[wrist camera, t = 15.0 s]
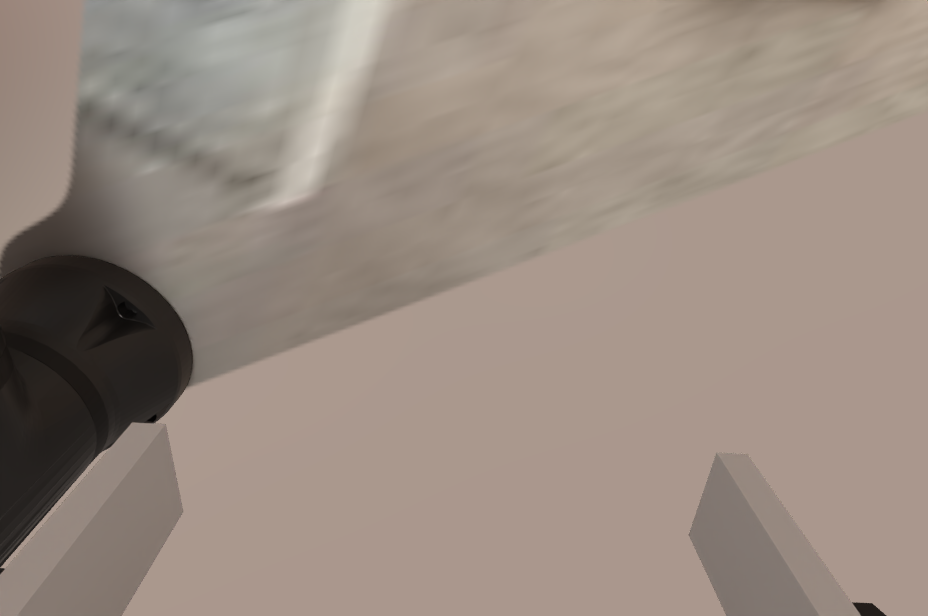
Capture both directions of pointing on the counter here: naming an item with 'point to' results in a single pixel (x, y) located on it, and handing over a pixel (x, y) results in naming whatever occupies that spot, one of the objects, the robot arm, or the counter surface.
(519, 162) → the counter surface
